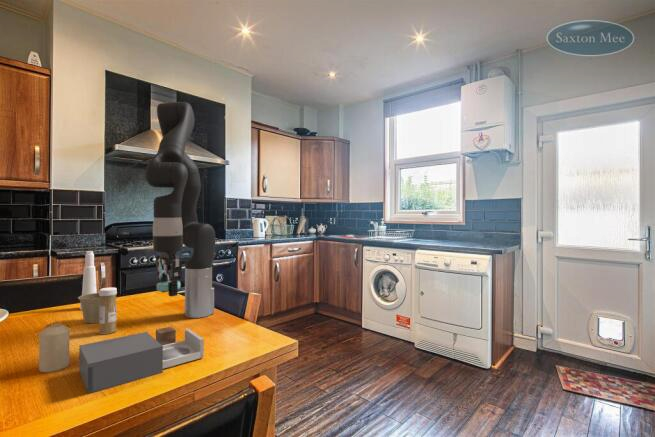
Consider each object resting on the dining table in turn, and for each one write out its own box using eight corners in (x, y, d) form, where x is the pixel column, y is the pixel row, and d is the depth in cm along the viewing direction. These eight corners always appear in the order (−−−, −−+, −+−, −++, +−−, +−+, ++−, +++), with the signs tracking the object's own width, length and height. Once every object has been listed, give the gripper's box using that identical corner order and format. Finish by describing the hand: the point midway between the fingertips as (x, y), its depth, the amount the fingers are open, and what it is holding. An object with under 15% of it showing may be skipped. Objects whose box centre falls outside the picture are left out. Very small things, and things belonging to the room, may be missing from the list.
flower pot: (71, 323, 111) (71, 297, 111) (99, 315, 120) (99, 291, 120) (89, 326, 108) (90, 300, 108) (117, 318, 117) (118, 293, 117)
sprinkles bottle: (116, 332, 102) (117, 289, 102) (98, 335, 100) (98, 290, 100) (116, 328, 106) (116, 286, 106) (99, 331, 104) (99, 287, 104)
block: (170, 340, 96) (170, 326, 96) (175, 344, 93) (175, 330, 93) (155, 343, 94) (155, 329, 94) (160, 348, 91) (160, 333, 91)
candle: (50, 362, 81) (50, 321, 81) (74, 362, 82) (74, 321, 82) (32, 373, 76) (32, 329, 76) (58, 372, 76) (58, 328, 76)
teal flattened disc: (175, 285, 98) (175, 280, 98) (183, 288, 94) (183, 283, 94) (153, 288, 94) (153, 283, 94) (161, 292, 89) (160, 286, 89)
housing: (146, 355, 86) (146, 331, 86) (162, 372, 77) (162, 346, 77) (79, 371, 77) (79, 345, 77) (88, 393, 67) (88, 364, 67)
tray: (187, 345, 92) (187, 328, 92) (203, 357, 84) (203, 339, 84) (136, 358, 83) (136, 339, 83) (148, 372, 76) (148, 352, 76)
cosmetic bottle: (91, 310, 126) (91, 252, 126) (75, 310, 126) (76, 252, 126) (102, 306, 132) (102, 250, 132) (87, 306, 132) (87, 250, 132)
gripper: (191, 234, 91) (192, 296, 91) (172, 232, 101) (173, 287, 102) (162, 235, 86) (163, 301, 86) (145, 233, 96) (146, 291, 96)
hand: (168, 293), depth 94 cm, fingers closed on teal flattened disc, 6 cm apart
